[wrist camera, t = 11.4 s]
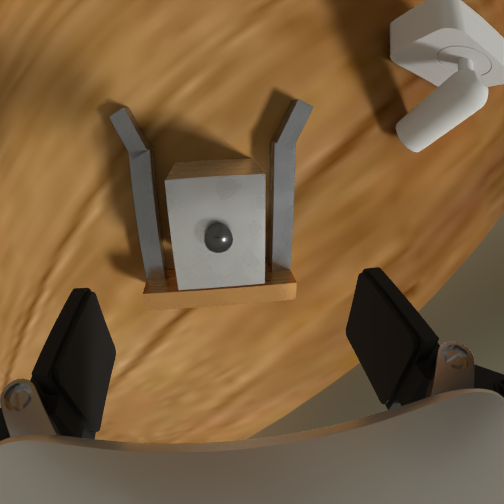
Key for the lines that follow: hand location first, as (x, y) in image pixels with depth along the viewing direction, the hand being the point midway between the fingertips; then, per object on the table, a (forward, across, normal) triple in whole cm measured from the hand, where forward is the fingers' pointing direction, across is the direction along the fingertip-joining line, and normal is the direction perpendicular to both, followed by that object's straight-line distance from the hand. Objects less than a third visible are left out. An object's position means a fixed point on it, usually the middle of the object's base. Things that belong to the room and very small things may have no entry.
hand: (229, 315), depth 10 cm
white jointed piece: (+15, -17, -10) cm, 24 cm away
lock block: (+14, 0, +1) cm, 14 cm away
